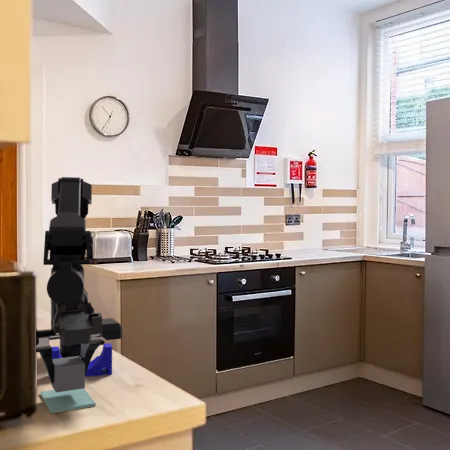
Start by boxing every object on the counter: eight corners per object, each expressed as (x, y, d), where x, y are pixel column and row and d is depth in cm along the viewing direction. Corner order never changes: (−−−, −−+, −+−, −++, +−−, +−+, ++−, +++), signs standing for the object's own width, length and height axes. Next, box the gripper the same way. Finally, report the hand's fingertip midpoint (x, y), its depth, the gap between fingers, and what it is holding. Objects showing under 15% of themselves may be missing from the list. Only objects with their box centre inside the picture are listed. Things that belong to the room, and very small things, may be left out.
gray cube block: (50, 383, 100) (50, 359, 100) (78, 379, 103) (78, 356, 102) (56, 392, 96) (56, 367, 96) (84, 388, 98) (85, 363, 98)
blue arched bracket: (109, 369, 118) (109, 341, 118) (111, 375, 114) (112, 346, 114) (51, 373, 115) (51, 345, 114) (51, 380, 110) (51, 350, 110)
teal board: (40, 394, 102) (40, 391, 102) (81, 388, 106) (81, 385, 106) (51, 413, 93) (51, 410, 93) (95, 405, 97) (95, 403, 97)
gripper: (18, 306, 87) (19, 403, 88) (132, 298, 96) (131, 386, 97) (9, 295, 97) (10, 382, 98) (113, 288, 106) (113, 368, 106)
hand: (67, 380), depth 99 cm, fingers closed on gray cube block, 5 cm apart
